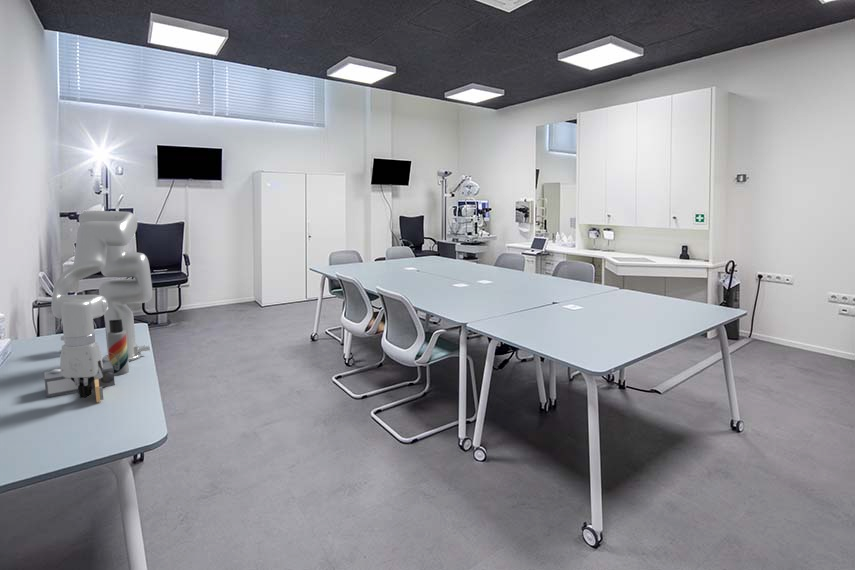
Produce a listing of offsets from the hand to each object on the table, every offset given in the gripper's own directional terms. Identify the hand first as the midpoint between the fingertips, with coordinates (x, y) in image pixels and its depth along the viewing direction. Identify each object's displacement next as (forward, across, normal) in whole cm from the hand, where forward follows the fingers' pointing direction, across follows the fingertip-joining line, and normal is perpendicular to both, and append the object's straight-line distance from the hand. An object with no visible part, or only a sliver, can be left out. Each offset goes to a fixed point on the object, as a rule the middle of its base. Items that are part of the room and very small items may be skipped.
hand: (85, 396), depth 146 cm
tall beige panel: (+1, +2, +3) cm, 4 cm away
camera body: (+1, -8, +10) cm, 13 cm away
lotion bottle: (+2, -4, +24) cm, 25 cm away
